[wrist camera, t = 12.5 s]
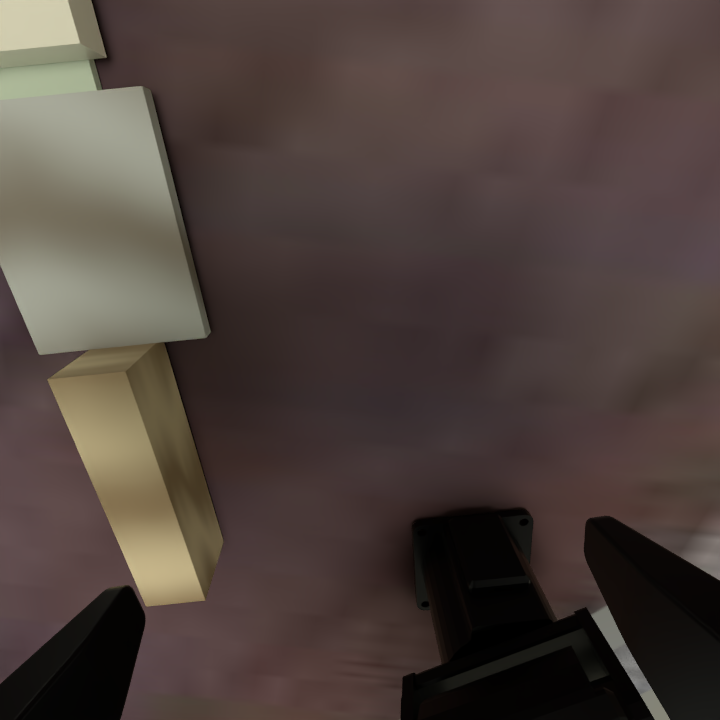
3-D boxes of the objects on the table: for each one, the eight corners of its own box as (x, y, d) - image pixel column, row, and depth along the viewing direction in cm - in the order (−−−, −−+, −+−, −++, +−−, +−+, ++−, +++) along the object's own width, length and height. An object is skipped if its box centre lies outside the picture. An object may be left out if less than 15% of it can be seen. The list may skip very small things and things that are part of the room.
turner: (262, 537, 23) (249, 595, 20) (134, 550, 23) (101, 611, 20) (150, 89, 15) (98, 66, 12) (-51, 109, 15) (-159, 92, 12)
